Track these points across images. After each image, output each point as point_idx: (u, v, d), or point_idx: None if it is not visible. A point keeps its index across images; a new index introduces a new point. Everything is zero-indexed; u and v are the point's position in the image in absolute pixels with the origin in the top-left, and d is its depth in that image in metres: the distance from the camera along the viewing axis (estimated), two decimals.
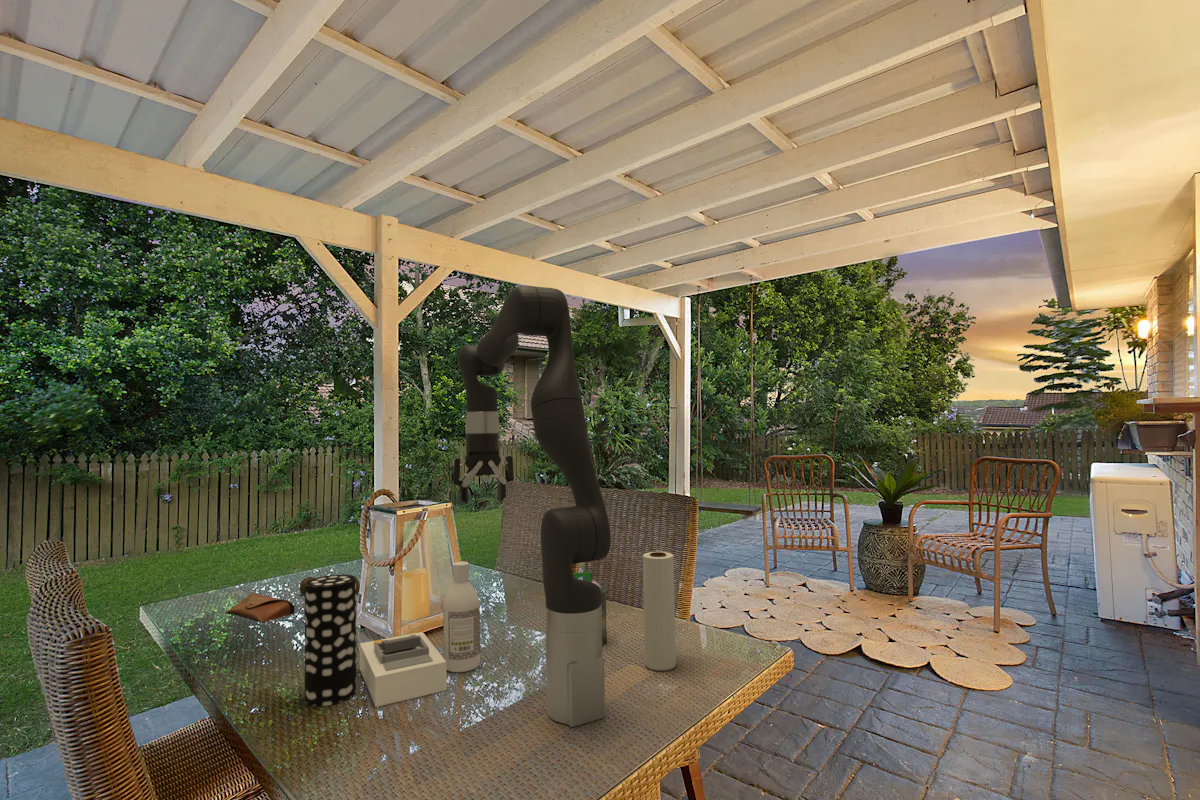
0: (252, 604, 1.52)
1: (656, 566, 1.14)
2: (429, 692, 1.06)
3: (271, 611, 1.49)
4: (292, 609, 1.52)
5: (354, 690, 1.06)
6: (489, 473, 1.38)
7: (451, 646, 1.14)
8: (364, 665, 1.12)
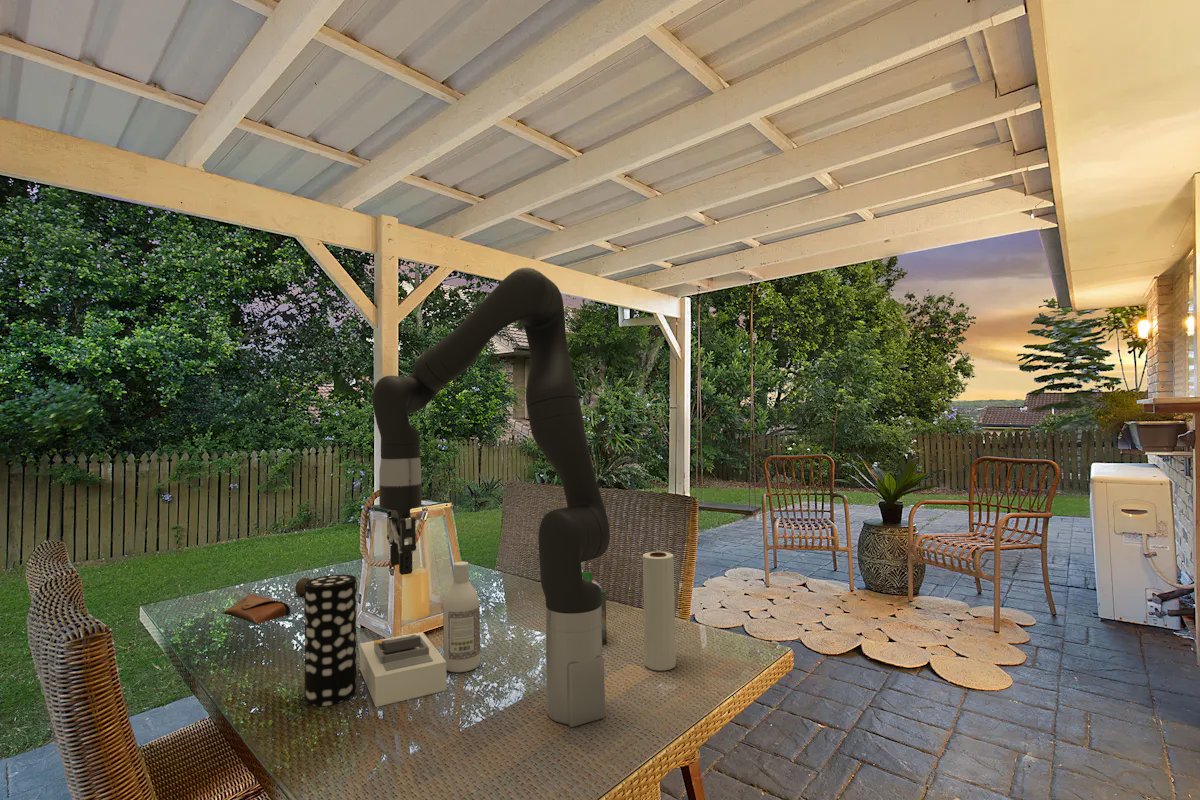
0: (248, 605, 1.51)
1: (656, 566, 1.14)
2: (429, 692, 1.06)
3: (266, 612, 1.48)
4: (288, 610, 1.51)
5: (354, 690, 1.06)
6: None
7: (451, 646, 1.14)
8: (364, 665, 1.12)
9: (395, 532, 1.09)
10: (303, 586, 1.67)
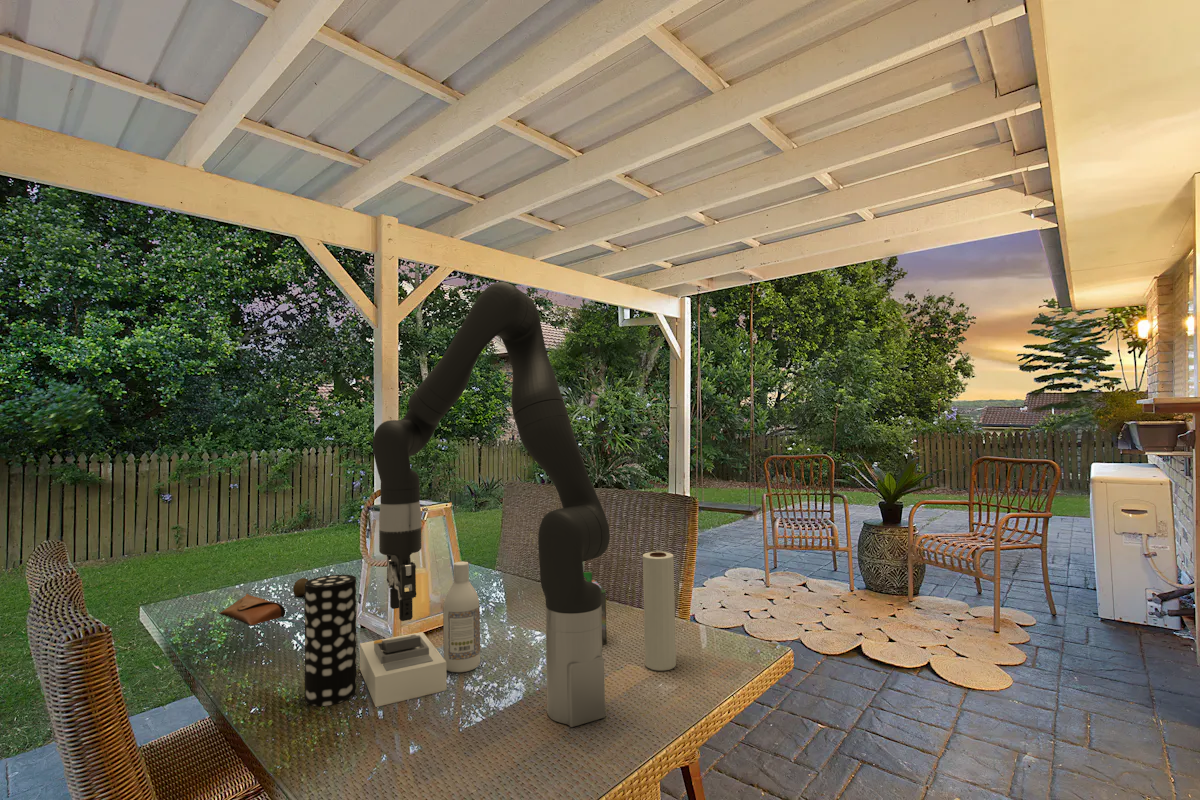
0: (244, 606, 1.50)
1: (656, 566, 1.14)
2: (429, 692, 1.06)
3: (261, 613, 1.47)
4: (283, 612, 1.50)
5: (354, 690, 1.06)
6: None
7: (451, 646, 1.14)
8: (364, 665, 1.12)
9: (395, 578, 1.09)
10: (301, 586, 1.66)
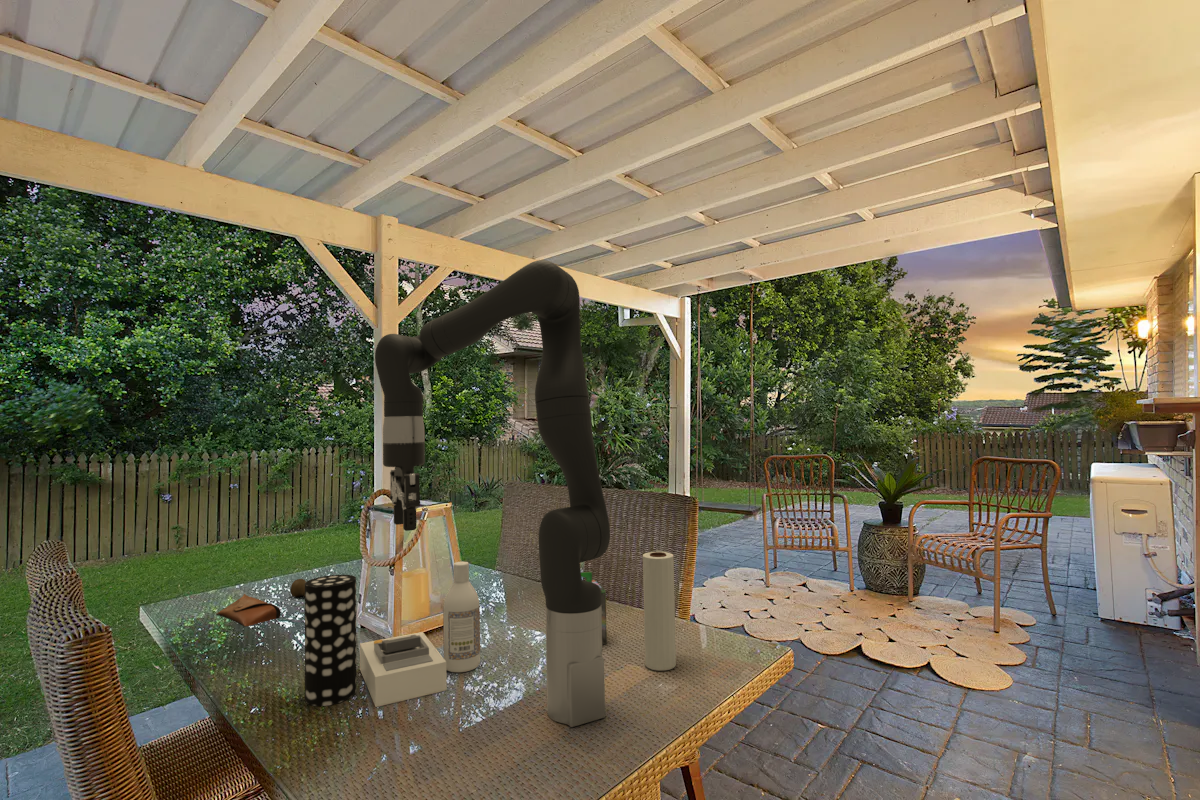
0: (240, 607, 1.50)
1: (656, 566, 1.14)
2: (429, 692, 1.06)
3: (256, 615, 1.46)
4: (278, 613, 1.49)
5: (354, 690, 1.06)
6: None
7: (451, 646, 1.14)
8: (364, 665, 1.12)
9: (399, 489, 1.10)
10: (298, 587, 1.66)
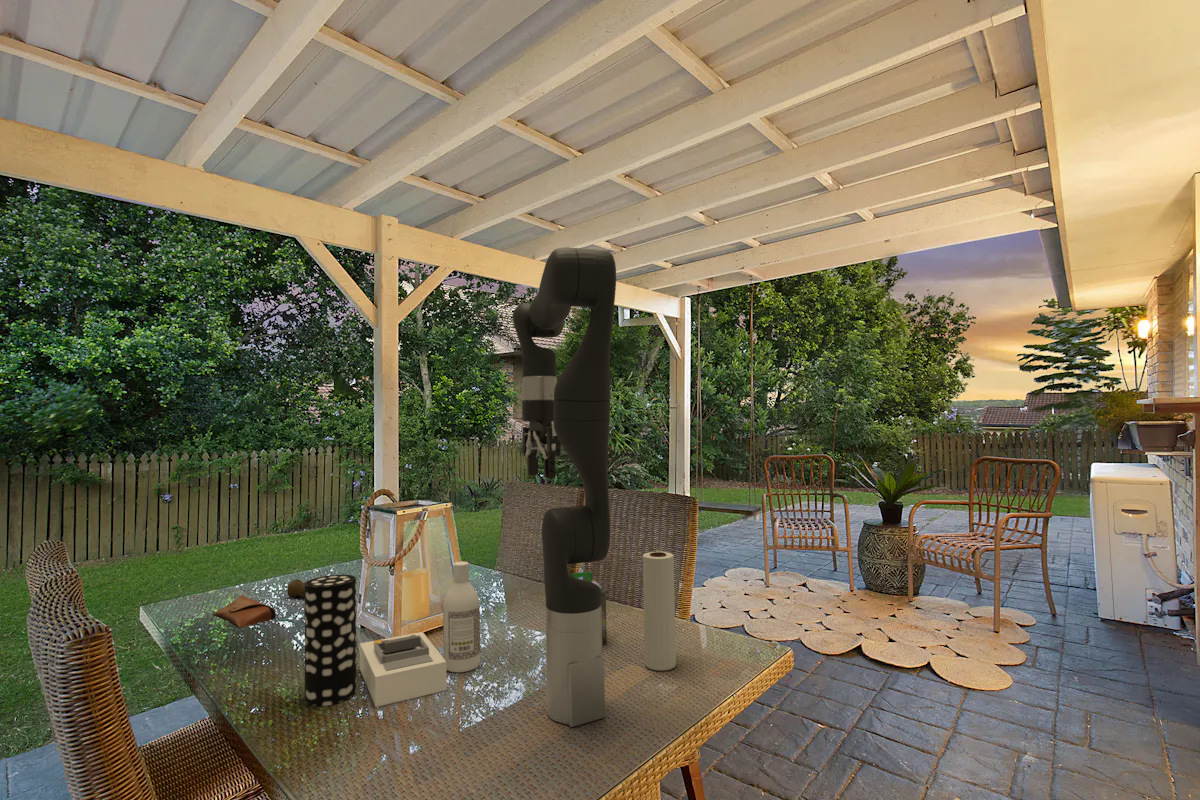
0: (235, 608, 1.49)
1: (656, 566, 1.14)
2: (429, 692, 1.06)
3: (250, 616, 1.45)
4: (273, 614, 1.48)
5: (354, 690, 1.06)
6: None
7: (451, 646, 1.14)
8: (364, 665, 1.12)
9: (539, 441, 1.22)
10: (295, 588, 1.65)
